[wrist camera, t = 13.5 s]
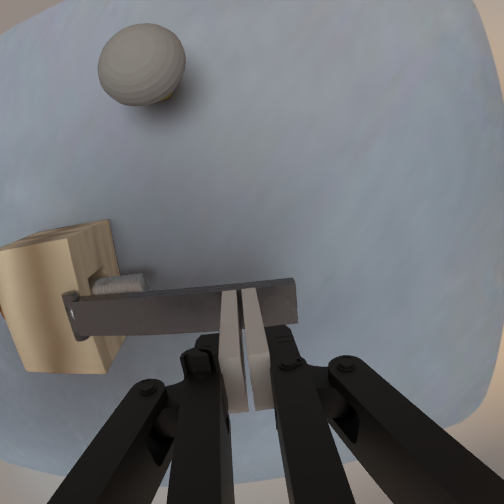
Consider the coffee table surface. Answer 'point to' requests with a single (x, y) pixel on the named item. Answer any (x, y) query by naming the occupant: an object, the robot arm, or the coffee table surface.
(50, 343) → the block
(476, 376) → the coffee table surface
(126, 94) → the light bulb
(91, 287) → the pin
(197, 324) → the bar
